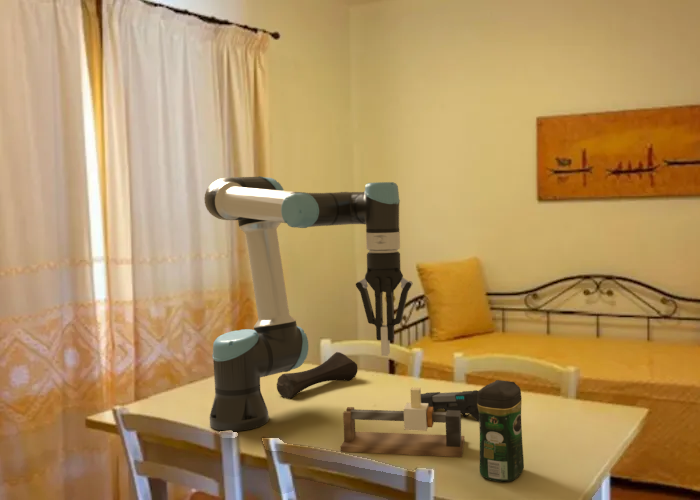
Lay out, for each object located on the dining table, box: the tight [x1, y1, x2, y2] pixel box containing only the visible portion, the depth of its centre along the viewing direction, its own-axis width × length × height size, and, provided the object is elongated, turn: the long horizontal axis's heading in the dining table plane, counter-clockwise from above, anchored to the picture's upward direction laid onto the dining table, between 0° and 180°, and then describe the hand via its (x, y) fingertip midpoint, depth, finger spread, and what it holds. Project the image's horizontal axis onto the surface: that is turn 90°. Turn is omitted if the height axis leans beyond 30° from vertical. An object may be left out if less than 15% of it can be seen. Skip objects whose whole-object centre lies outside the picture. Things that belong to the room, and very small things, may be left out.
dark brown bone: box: [276, 351, 359, 399], centre depth 207 cm, size 11×10×28 cm
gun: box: [421, 389, 479, 422], centre depth 177 cm, size 4×20×10 cm, turn 48°
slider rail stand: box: [340, 406, 466, 458], centre depth 154 cm, size 27×10×9 cm, turn 77°
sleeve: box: [403, 386, 429, 432], centre depth 153 cm, size 5×5×9 cm
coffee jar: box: [477, 379, 525, 483], centre depth 136 cm, size 10×8×19 cm
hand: (385, 354), depth 154 cm, fingers closed
